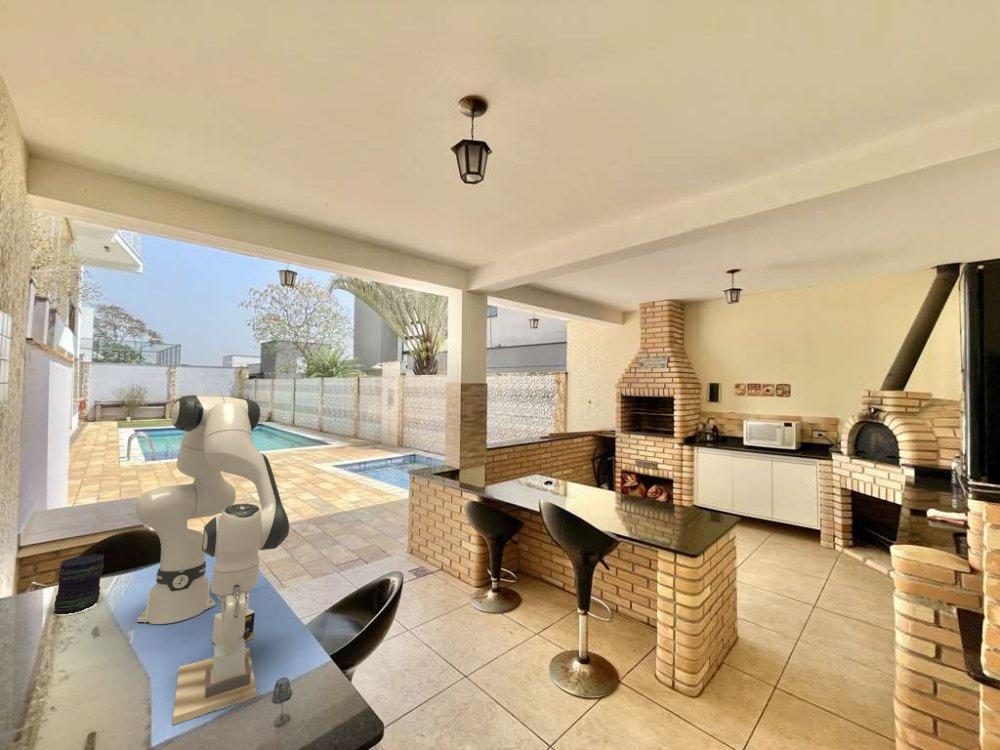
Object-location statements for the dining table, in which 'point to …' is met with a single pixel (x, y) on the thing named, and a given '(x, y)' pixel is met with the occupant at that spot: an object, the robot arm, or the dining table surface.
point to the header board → (196, 691)
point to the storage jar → (78, 583)
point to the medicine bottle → (248, 630)
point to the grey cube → (228, 661)
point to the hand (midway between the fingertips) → (229, 643)
